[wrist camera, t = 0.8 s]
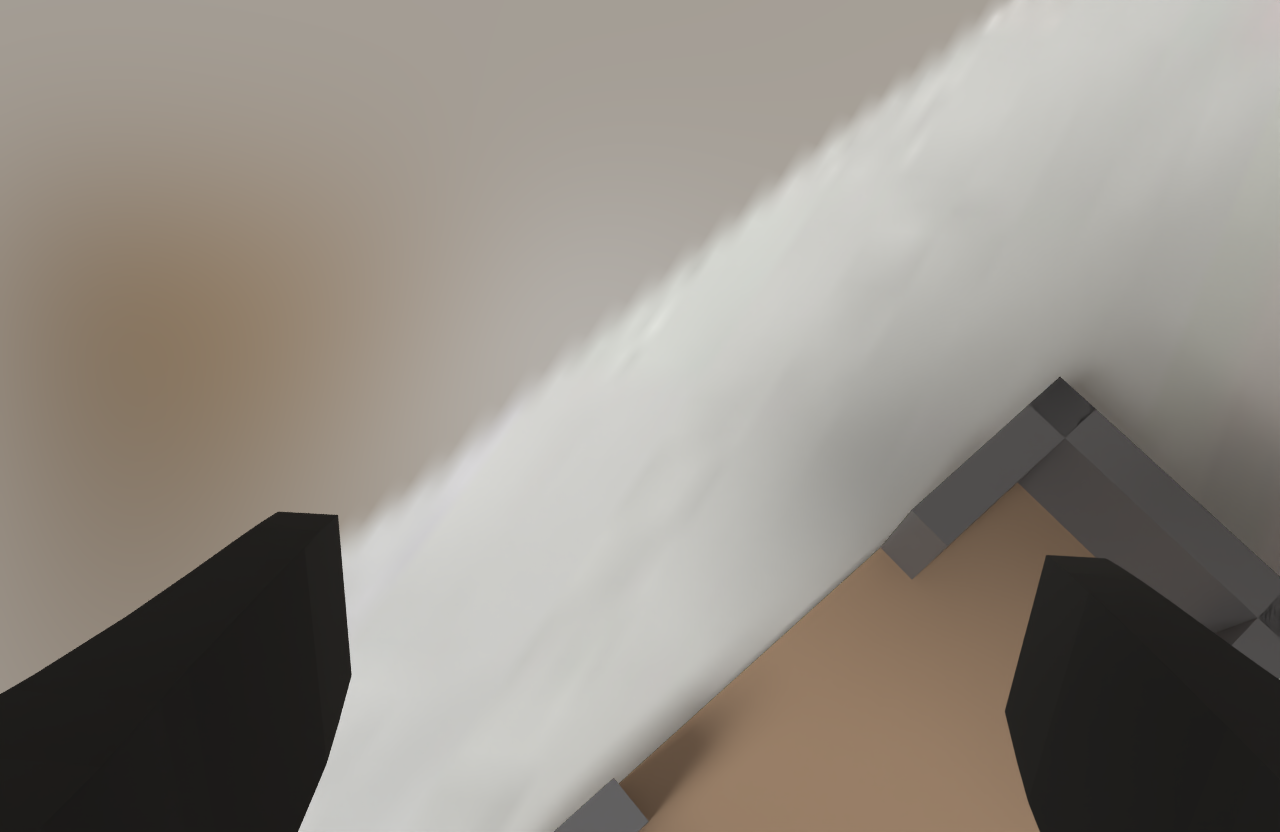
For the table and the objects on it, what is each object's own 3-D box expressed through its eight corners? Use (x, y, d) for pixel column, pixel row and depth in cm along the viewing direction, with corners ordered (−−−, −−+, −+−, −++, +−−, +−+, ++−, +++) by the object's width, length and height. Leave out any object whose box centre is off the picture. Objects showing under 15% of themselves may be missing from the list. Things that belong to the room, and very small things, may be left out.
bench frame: (1230, 654, 24) (1330, 622, 21) (669, 1247, 20) (676, 1332, 17) (1003, 438, 26) (1059, 376, 23) (449, 938, 22) (413, 956, 19)
